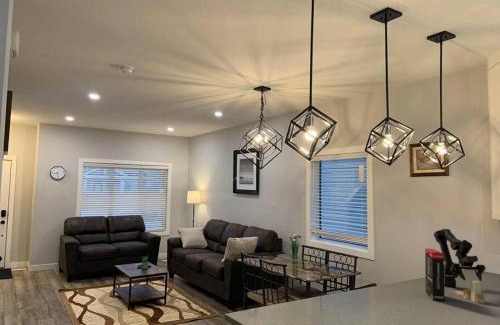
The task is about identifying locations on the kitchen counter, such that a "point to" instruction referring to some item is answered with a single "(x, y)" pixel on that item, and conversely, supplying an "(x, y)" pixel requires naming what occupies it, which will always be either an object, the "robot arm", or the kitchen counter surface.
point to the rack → (478, 296)
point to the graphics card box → (434, 274)
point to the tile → (459, 292)
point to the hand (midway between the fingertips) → (472, 280)
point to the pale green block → (475, 289)
